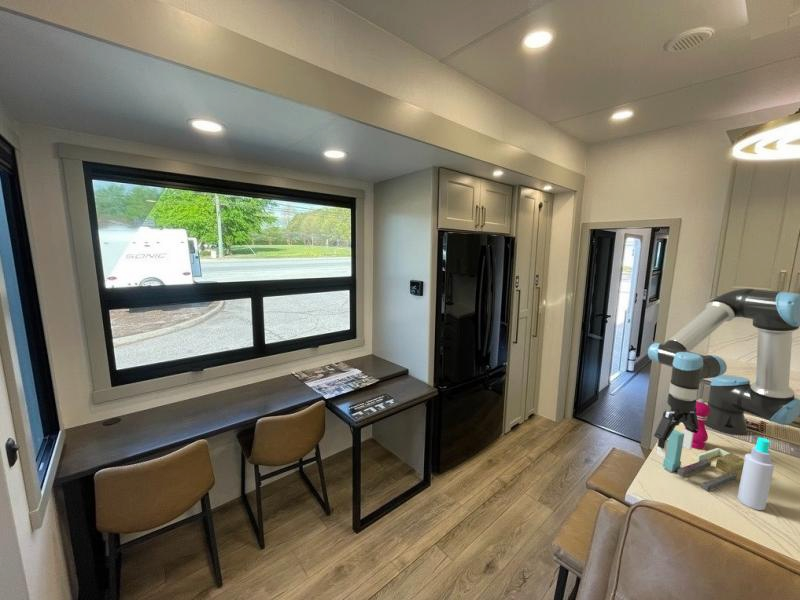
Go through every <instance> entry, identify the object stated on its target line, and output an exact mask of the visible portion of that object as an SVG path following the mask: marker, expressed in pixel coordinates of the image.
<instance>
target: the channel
mask: <svg viewBox="0 0 800 600" xmlns="http://www.w3.org/2000/svg"><path fill="white" fill-rule="evenodd" d="M711 467H712V461H711V460H709V459H705V460H702V461H700V462H698V461H696V462H694V463H691V464H689V465H685V466H683V467H682V466H681V467H680V468H679V469H678V470H677V472H676V473H677V475H678V476H679V477H682V478H683V477H685V476H689V475H692V474H694V473H696V472H701V471H703V470H706V469H708V468H711ZM737 476H738V474H736V473H733V472H729V473H724V474H722V475H718V476H716V477H714V478H712V479H708V480H706V481H704V482H701V487H700V489H702V490H703V491H705V492H709V491H712V490H715V489H716V488H719V487H721V486H725V485H727V484H729V483H731V482H734V481H736V480H737Z"/></svg>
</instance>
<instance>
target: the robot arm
mask: <svg viewBox="0 0 800 600" xmlns="http://www.w3.org/2000/svg"><path fill="white" fill-rule="evenodd" d="M736 318H745V319H751V320H752V327H753V328H755V329H756V330H757V347H756V348H757V351H756V353H757V354H756V373H755V374H756V375H755V377H756V378H755V381H754V382H753V383H751V381H750V379H748V378H746V377H742V376H737V375H732V374H731V375H730V374H729V375H728V374H725V373H726V372H727V369H728V368H727V363H726V362H725V360H724V359H723V358H722V357H720V356H717V355H715V354H714V355H713V354H706V355H704V354H700V353H696V352H693V351H692V350H694V349H695V348H696V347H697V346H698V345H699V344H701V343H702V342H703V341H704V340H705V339H707V338H708V337H709V336H710V335H711V334H713V332H715V331H716V330H717V329H718V328H720V326H722V325H723V324H724V323H725V322H726V323H727V322H731V321H732V320H734V319H736ZM799 328H800V294H799V293H795V292H794V293H793V292H788V291H779V290H778V291H776V290H766V289H756V288H755V289H754V288H738V289H734V290H731V291H727V292H725V293H722V294H720V295H718V296H716V297H714V298H713V299H712V300H710V301H709V302H708V303H706V305H705V307H704V310H703V311H701V312H700V313H699V314H698V315H696V316H695V317H694V318H693V319H692V320H691V321H689V322H688V323H687V324H686V325H685V326H683V327H682V328H681V329H680V330H678V331H677V333H675V334H674V335H673V336H671V338H669V339H668V340H667V341H666V342H664V343H659V342H655V343H652V344H651V345H650V346H649V347H648V349H647V356H648V359H649V360H651V361H653V362H656V363H659V364H661V365H664V366H667V367H671V368H672V369H671V375H670V383H669V390H668V396H667V402H666V403H667V404H668V406H670V410H669V411H668V410H663V414H662V417H661V420H660V422H659V424H658V426H657V428H656V430H655V432H654V435H653V436H654V437H655V438H657V448H656V454H657V455H658V456H661V457H662V458H663V459H665V458H666V455H667V448H668V442H669V440H668V437H669V436H670V434H671V433H672V431H673V430H675V428H676V427H677V426H680V423H682V424H683V426H684V427H685V428H686V429H687V430H686V429H685V428H684V429H683V432H682V433H683V434H684V440H683V446H682V448H683V447H684V448H686V449H687V450H692V441H693V435H694V433H698V429H699V425H698V420H697V415H696V410H697V408H696V402H698V401H697V399H698V396H699V387H700V384H701V383H700V382H701V380H703V379H710V378H711V381H710V384H709V385H710V387H709V393H708V399H707V405H708V406H709V408H710V413H709V414H708V415H707V420H705V426H707V427H708V428H710V429H713V430H716V431H718V432H722V433H724V434H725V433H726V434H730V435H731V434H732V435H745V434H746V433H747V430H748V425H747V422H746V418H745V417H746V416H745V412H746V413H748V414H751V415H754V416H756V417H759V418H762V419H765V420H767V421H769V422H772V423H775V424H778V425H783V426H786V425H790V424H791V423H793V422H794V421H795V420H796V419H797V418H798V417H799V415H800V399H799V398H796V397H795V395H796V393H795V390H793V388H791V387H790V377H791V376H790V375H791V374H790V373H791V358H792V344H793V332H795V331H798V330H799ZM693 424H694V425H693ZM696 429H697V430H696Z"/></svg>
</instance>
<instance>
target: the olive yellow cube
mask: <svg viewBox="0 0 800 600" xmlns="http://www.w3.org/2000/svg"><path fill="white" fill-rule="evenodd" d="M737 466H738V462H736V461H734V460H732V459H730V458H728V457H726V456H722V457H721V456H719V457H717V458H716V464H715V468H716V469H717V470H720V471H721V472H722V473H723V472H724V474H727V473H729V472H733V473H735V474H736V473H737V472H736V471H737Z"/></svg>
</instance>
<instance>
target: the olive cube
mask: <svg viewBox="0 0 800 600" xmlns="http://www.w3.org/2000/svg"><path fill="white" fill-rule="evenodd" d="M729 453H730V452H729ZM724 456H726V457H728V458H730V459H732V460H734V461H736V462H738V466H737V471H736V473H737V472H740V471H743V465H744V460H745V458H743V457H740V456H738V455H736V454H735V453H732V452H731V453H730V454H727V455H724Z"/></svg>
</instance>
